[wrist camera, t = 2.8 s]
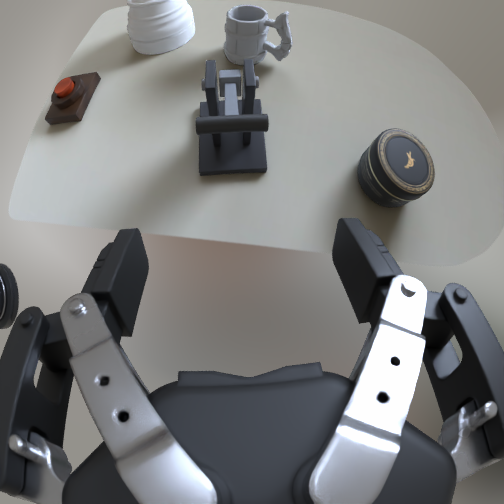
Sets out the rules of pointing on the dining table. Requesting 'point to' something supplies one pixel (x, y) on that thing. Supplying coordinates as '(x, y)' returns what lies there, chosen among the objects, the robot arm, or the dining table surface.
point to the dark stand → (231, 144)
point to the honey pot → (159, 25)
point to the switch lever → (231, 110)
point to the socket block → (73, 100)
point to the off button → (64, 87)
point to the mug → (254, 34)
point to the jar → (395, 169)
